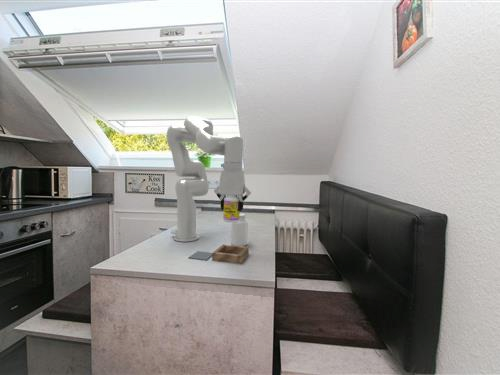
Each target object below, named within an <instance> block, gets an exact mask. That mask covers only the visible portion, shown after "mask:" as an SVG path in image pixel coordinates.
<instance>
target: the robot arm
mask: <svg viewBox="0 0 500 375" xmlns="http://www.w3.org/2000/svg"><path fill="white" fill-rule="evenodd" d="M166 141H167V145H168V148H169V149H170V153H171V156H172V161H173V165H174V166H173V167H174V171H175V174H176V176H178V177H180V178H181V179H179V180H177V181H176V183H175V186H174V187H175V193H176V203H177V204H176V206H177V209H176V212H177V215H176V216H177V218H176V219H177V220H176V225H177V226H176V229H171V232H170V234H171V235H174V236H173V240H174V241H176V242H180V243H182V242H183V243H185V242H194V241H197V240H198V239H199V238H200V236H199V234H197V204H196V201H195V199H194V198H193V197H203V196H206V195H207V194H208V193H209V189H210V188H209V181H208V175H207V172H206V168H205V164H204V163H203V162H202V161H200V160H197V159H191V158H190V153H189V150H188V148H187V147H186V146H185V145H184V144H183V143H188V144H196V146H197V147H198V148H199V149H200V150H201V151H203V153H206V154H208V155H218V156H224V157H223V163H220V167H221V168H223V169H222V170H221V172H220V177H219V184H218V186H217V187H216V188H215V189H214V190H213V192H214V193H215V194H216V196H217V198H218V199H219V201H220V210H221V211H224V198H225V197H226V196H227V195H237V196H238V197H239V200H240V202H239V203H238V211H240V212H242V211H243V209H244V202H245V201H246V199H247V198H248V197H249V196H251V194H252V191H251V190H249V189H248V187H246V180H245V172H244V170H243V160H244V159H243V155H244V153H243V152H244V138H242V137H241V136H236V135H235V136H234V135H232V136H231V135H230V136H226V137H222V136H217V135H216V136H215V135H214V125H213V123H212V121H211V120H210V119H207V118H203V117H199V116H193V115H192V116H188V117H186V118H185V119H184V121H183V124H172V125H170V126H169V127H168V128H167V131H166ZM244 194H245V195H244Z"/></svg>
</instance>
